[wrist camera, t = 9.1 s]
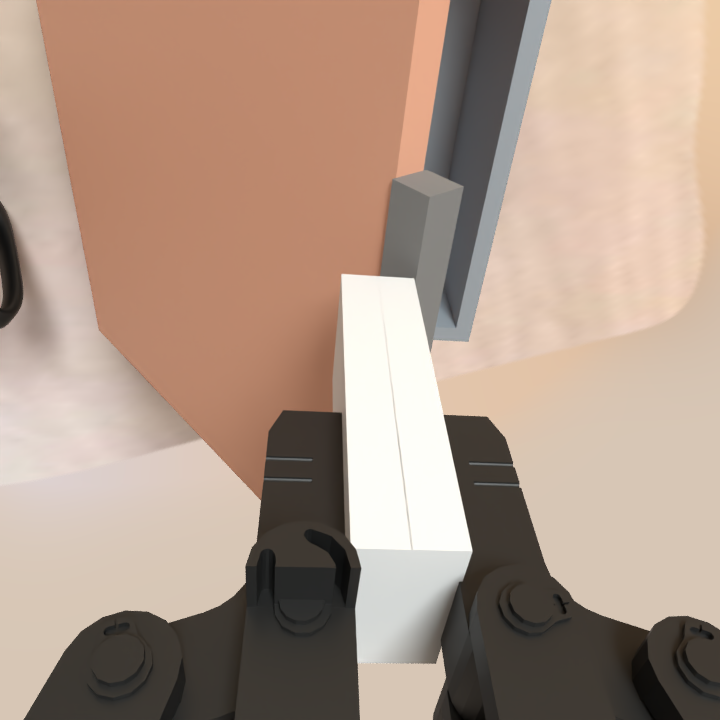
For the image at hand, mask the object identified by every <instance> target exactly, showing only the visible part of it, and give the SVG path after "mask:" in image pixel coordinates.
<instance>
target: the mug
mask: <svg viewBox="0 0 720 720" xmlns="http://www.w3.org/2000/svg"><path fill="white" fill-rule="evenodd" d="M0 272H1V279H2V287H3V301H2V305H1V308H0V329H1V328H4V327H5V326H6V325H7V324H9V322H10V321H11V320H12V319H13V318H14V317H15V315H16V314H17V313H18V311H19V309H20V307H21V305H22V300H23V282H22V276H21V270H20V264H19V259H18V254H17V249H16V244H15V239H14V235H13V230H12V226H11V223H10V220H9V217H8V214H7V212H6V210H5V208H4V206H3V205H2V203H1V202H0Z"/></svg>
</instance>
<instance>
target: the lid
mask: <svg viewBox="0 0 720 720" xmlns="http://www.w3.org/2000/svg"><path fill="white" fill-rule="evenodd" d="M36 2H37V7H38V12H39V17H40V23H41V28H42V33H43V38H44V44H45V49H46V54H47V59H48V65H49V70H50V75H51V80H52V86H53V91H54V96H55V101H56V107H57V112H58V117H59V122H60V128H61V133H62V138H63V143H64V148H65V154H66V159H67V164H68V169H69V175H70V180H71V185H72V190H73V196H74V201H75V206H76V211H77V217H78V222H79V227H80V232H81V238H82V243H83V248H84V253H85V259H86V264H87V269H88V274H89V280H90V285H91V290H92V295H93V301H94V306H95V311H96V316H97V322H98V327H99V330H100V331H101V333H102V334H103V335H104V336H105V337H106V338H107V339H108V340H109V341H110V342H111V343H112V344H113V345H114V346H115V347H116V348H117V349H118V350H119V351H120V352H121V354H122V355H123V356H124V357H125V358H126V359H127V360H128V361H129V362H130V363H131V364H132V365H133V366H134V367H135V368H136V369H137V370H138V371H139V372H140V374H141V375H142V376H143V377H144V378H145V379H146V380H147V381H148V382H149V383H150V384H151V385H152V386H153V387H154V388H155V389H156V390H157V391H158V392H159V394H160V395H161V396H162V397H163V398H164V399H165V400H166V401H167V402H168V403H169V404H170V405H171V406H172V407H173V408H174V409H175V410H176V411H177V412H178V414H179V415H180V416H181V417H182V418H183V419H184V420H185V421H186V422H187V423H188V424H189V425H190V426H191V427H192V428H193V429H194V430H195V431H196V432H197V434H198V435H199V436H200V437H201V438H202V439H203V440H204V441H205V442H206V443H207V444H208V445H209V446H210V447H211V448H212V449H213V450H214V451H215V452H216V453H217V455H218V456H220V458H221V459H222V460H223V461H224V462H225V463H226V464H227V465H228V466H229V467H230V468H231V469H232V470H233V471H234V472H235V474H236V475H237V476H238V477H239V478H240V479H241V480H242V481H243V482H244V483H245V484H246V485H247V486H248V487H249V488H250V489H251V490H252V491H253V492H254V494H255V495H256V496H257V497H258V498H259V499H260V500H261V498H262V489H263V482H264V470H265V461H266V451H267V441H268V432H269V430H270V428H271V427H272V426H273V424H274V423H275V421H276V420H277V418H278V417H279V416H280V414H281V413H282V411H283V410H292V411H316V412H333V383H332V378H333V366H334V354H335V343H336V331H337V319H338V307H339V296H340V284H341V274H351V275H367V276H384V277H400V278H414V280H415V285H416V289H417V294H418V299H419V303H420V308H421V313H422V317H423V322H424V327H425V331H426V336H427V341H428V345H429V350H430V352H431V347H432V342H433V337H434V332H435V327H436V322H437V317H438V312H439V307H440V302H441V297H442V293H443V288H444V283H445V278H446V273H447V268H448V263H449V258H450V253H451V248H452V243H453V238H454V233H455V228H456V223H457V218H458V213H459V208H460V203H461V198H462V193H463V188H464V186H461V185H459V184H457V183H455V182H453V181H450V180H448V179H446V178H444V177H442V176H439V175H437V174H435V173H433V172H431V171H428V170H424V164H425V157H426V151H427V145H428V138H429V132H430V125H431V119H432V113H433V106H434V100H435V94H436V87H437V81H438V75H439V68H440V62H441V56H442V49H443V43H444V37H445V30H446V24H447V18H448V11H449V5H450V0H36ZM423 170H424V171H423Z"/></svg>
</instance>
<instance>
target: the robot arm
mask: <svg viewBox="0 0 720 720" xmlns="http://www.w3.org/2000/svg"><path fill="white" fill-rule="evenodd" d="M332 383H333V412H316V411H292V410H283V411H282V413H281V414H280V416H279V417H278V418H277V420H276V421H275V423H274V424H273V426H272V427H271V428H270V430H269V432H268V441H267V451H266V461H265V470H264V482H263V489H262V498H261V508H260V517H259V527H258V536H257V543H256V544H255V545H254V546H253V547H252V549H251V552H250V555H249V558H248V560H247V563H246V583H245V585H244V586H243V587H242V588H241V589H240V590H239V591H238V592H237V593H236V595H235V596H233V597H232V598H231V599H229V600H228V601H226V602H225V603H223V604H222V605H221V606H218V607H216V608H214V609H211V610H209V611H206V612H204V613H201V614H197V615H194V616H191V617H187V618H184V619H181V620H177V621H174V622H171V623H167V621H166V620H164V619H162V618H160V617H158V616H156V615H153V614H151V613H149V612H142V611H123V612H119V613H116V614H113V615H109V616H106V617H102V618H101V619H100V620H98V621H96V622H95V623H93V624H92V625H90V626H89V627H87V628H86V629H84V630H83V631H81V632H80V633H79V635H78V636H77V637H76V638H75V639H74V641H73V642H72V643H71V644H70V645H69V647H68V648H67V649H66V650H65V651H64V653H63V655H62V657H61V658H60V660H59V661H58V663H57V665H56V667H55V668H54V670H53V672H52V673H51V675H50V677H49V678H48V680H47V682H46V683H45V685H44V687H43V688H42V690H41V692H40V693H39V695H38V697H37V698H36V700H35V702H34V703H33V705H32V707H31V708H30V710H29V712H28V713H27V715H26V717H25V718H24V720H360V715H359V689H358V664H357V663H432V664H433V663H435V664H436V661H437V658H438V655H439V652H440V649H441V646H442V652H443V658H444V666H445V672H446V680H445V683H444V686H443V688H442V691H441V694H440V697H439V700H438V703H437V705H436V708H435V711H434V715H433V720H720V630H719V629H718V628H716V627H714V626H713V625H711V624H710V623H708V622H704V621H701V620H698V619H695V618H691V617H689V616H677V617H667V618H665V619H664V620H662V621H660V622H658V623H656V624H655V625H654V626H653V628H652V629H651V631H648V630H644V629H641V628H638V627H635V626H632V625H629V624H626V623H623V622H620V621H617V620H614V619H611V618H607V617H604V616H601V615H599V614H597V613H595V612H592V611H590V610H588V609H586V608H584V607H583V606H581V605H579V604H578V603H576V602H575V601H573V599H572V597H571V595H570V593H569V592H568V591H567V590H566V589H565V588H564V587H563V586H561V584H559V582H557V581H556V580H555V579H554V578H553V577H551V576H550V573H549V571H548V569H547V567H546V565H545V562H544V559H543V556H542V553H541V550H540V546H539V543H538V540H537V537H536V534H535V531H534V527H533V524H532V521H531V518H530V515H529V512H528V509H527V505H526V502H525V499H524V496H523V492H522V489H521V488H519V480H518V477H517V474H516V470H515V468H514V467H513V461H512V458H511V454H510V451H509V448H508V445H507V442H506V439H505V437H504V436H503V435H502V434H501V433H500V431H499V430H498V429H497V428H496V427H495V426H494V425H493V423H492V422H491V421H490V420H489V418H488V417H480V416H456V415H443V411H442V406H441V401H440V397H439V393H438V387H437V383H436V378H435V373H434V369H433V364H432V359H431V355H430V350H429V345H428V341H427V336H426V331H425V327H424V322H423V317H422V313H421V308H420V303H419V299H418V294H417V289H416V285H415V280H414V278H400V277H384V276H367V275H351V274H341V284H340V296H339V307H338V319H337V331H336V343H335V354H334V366H333V378H332Z"/></svg>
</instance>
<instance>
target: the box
mask: <svg viewBox="0 0 720 720" xmlns="http://www.w3.org/2000/svg"><path fill="white" fill-rule="evenodd" d="M550 4H551V0H450V5H449V11H448V18H447V24H446V30H445V37H444V43H443V49H442V56H441V62H440V68H439V75H438V81H437V87H436V94H435V100H434V106H433V113H432V119H431V125H430V132H429V138H428V145H427V151H426V157H425V164H424V170H428V171H431V172H433V173H435V174H437V175H439V176H442V177H444V178H446V179H448V180H450V181H453V182H455V183H457V184H459V185H461V186H464V188H463V193H462V198H461V203H460V208H459V213H458V218H457V223H456V228H455V233H454V238H453V243H452V248H451V253H450V258H449V263H448V268H447V273H446V278H445V283H444V288H443V293H442V297H441V302H440V307H439V312H438V317H437V322H436V327H435V332H434V337H433V340H446V341H465V342H468V341H469V337H470V333H471V329H472V325H473V321H474V317H475V313H476V308H477V304H478V300H479V296H480V292H481V288H482V284H483V280H484V276H485V271H486V267H487V263H488V259H489V255H490V251H491V247H492V243H493V238H494V234H495V230H496V226H497V222H498V218H499V214H500V210H501V205H502V201H503V197H504V193H505V189H506V185H507V181H508V177H509V173H510V168H511V164H512V160H513V156H514V152H515V148H516V144H517V140H518V135H519V131H520V127H521V123H522V119H523V115H524V111H525V107H526V103H527V98H528V94H529V90H530V86H531V82H532V78H533V74H534V70H535V65H536V61H537V57H538V53H539V49H540V45H541V41H542V37H543V33H544V28H545V24H546V20H547V16H548V12H549V8H550ZM424 170H423V171H424Z"/></svg>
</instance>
